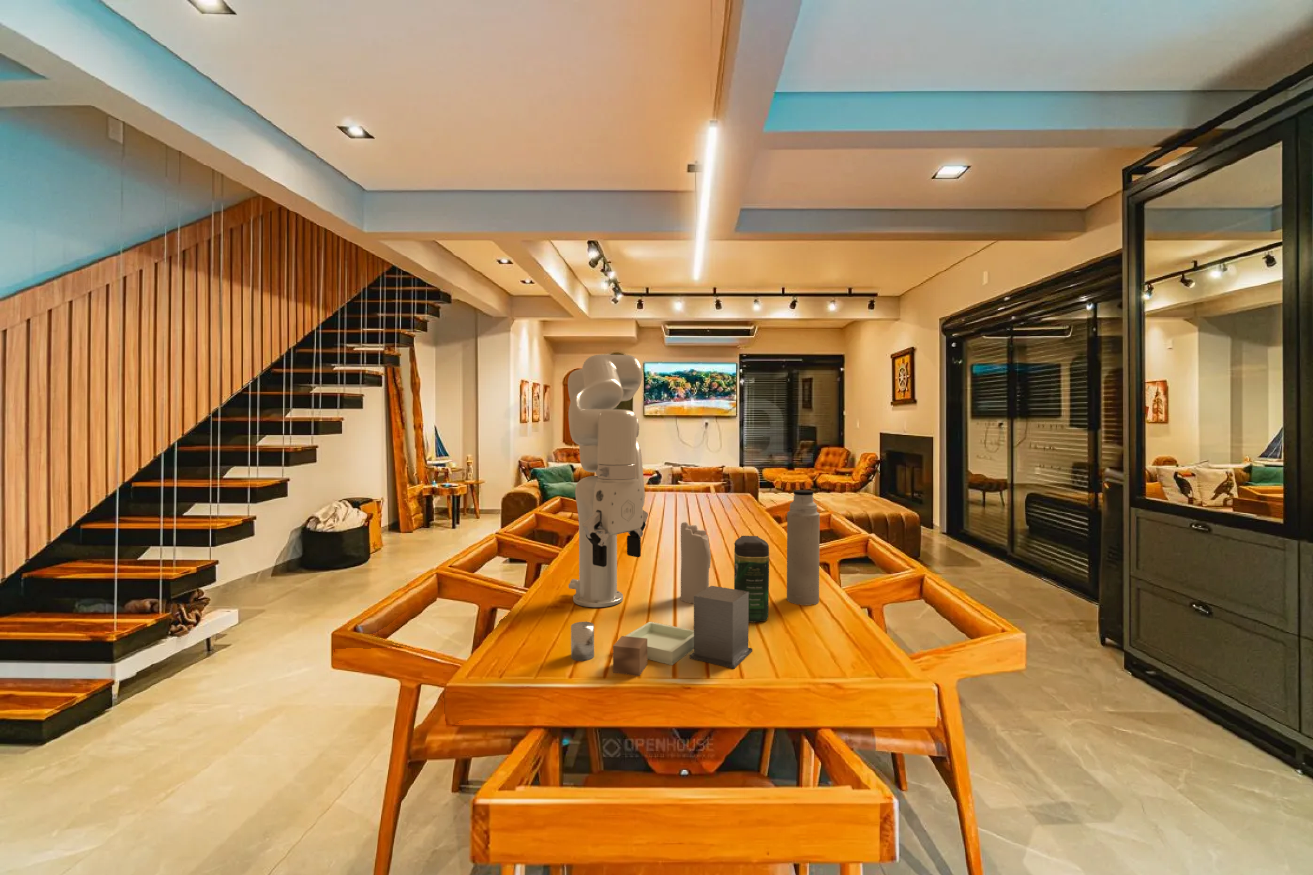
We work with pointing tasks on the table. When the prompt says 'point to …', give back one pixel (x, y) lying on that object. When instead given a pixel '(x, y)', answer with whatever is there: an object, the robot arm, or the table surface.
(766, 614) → the coffee jar
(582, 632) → the grey cylinder
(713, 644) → the block
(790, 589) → the thermos bottle
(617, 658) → the walnut block
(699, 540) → the grey jagged upright block
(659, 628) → the tray
